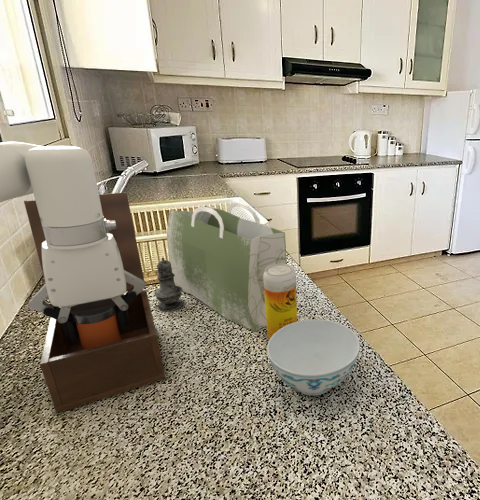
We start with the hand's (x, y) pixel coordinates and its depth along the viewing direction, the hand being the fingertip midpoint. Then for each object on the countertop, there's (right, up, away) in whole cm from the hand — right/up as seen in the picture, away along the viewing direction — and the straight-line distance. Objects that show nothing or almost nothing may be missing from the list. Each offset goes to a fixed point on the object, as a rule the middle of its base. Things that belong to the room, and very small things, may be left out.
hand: (99, 332), depth 62 cm
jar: (0, -5, +2) cm, 5 cm away
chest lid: (-6, +14, +6) cm, 16 cm away
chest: (-1, -7, +4) cm, 8 cm away
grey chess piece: (0, +1, +24) cm, 24 cm away
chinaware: (+36, -9, +1) cm, 37 cm away
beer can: (+28, -4, +14) cm, 32 cm away
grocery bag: (+13, +2, +28) cm, 31 cm away
